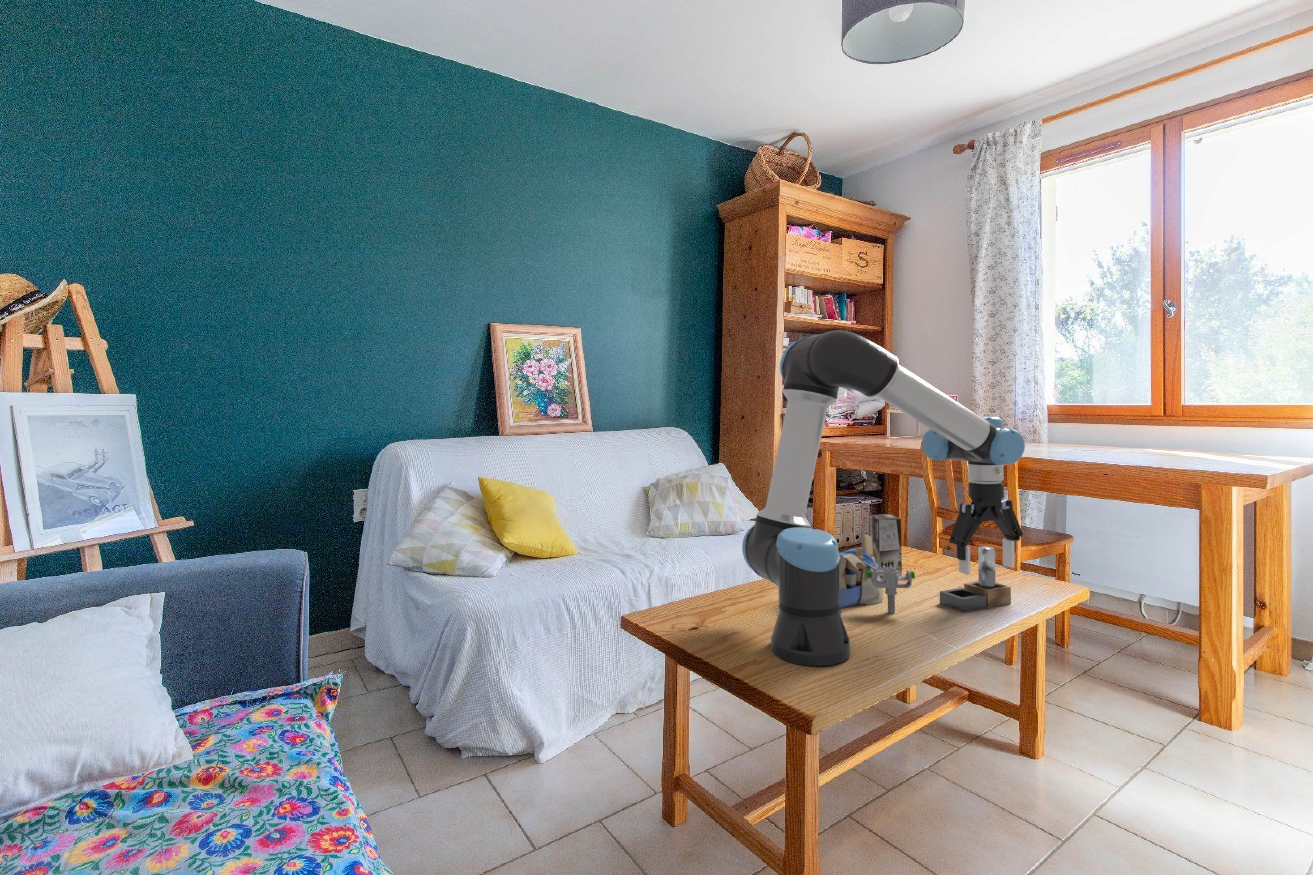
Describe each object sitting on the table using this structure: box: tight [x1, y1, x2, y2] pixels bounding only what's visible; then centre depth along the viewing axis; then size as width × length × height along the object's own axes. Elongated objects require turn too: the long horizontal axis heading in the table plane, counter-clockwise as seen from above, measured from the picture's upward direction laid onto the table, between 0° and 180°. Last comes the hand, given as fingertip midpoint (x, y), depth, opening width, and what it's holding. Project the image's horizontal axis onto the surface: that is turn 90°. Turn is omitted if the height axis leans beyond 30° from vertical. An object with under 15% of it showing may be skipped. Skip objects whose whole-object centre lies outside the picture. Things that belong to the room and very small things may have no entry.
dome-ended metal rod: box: [977, 546, 996, 589], centre depth 151 cm, size 4×4×13 cm
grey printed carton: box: [869, 513, 903, 577], centre depth 180 cm, size 9×6×16 cm
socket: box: [939, 587, 987, 613], centre depth 149 cm, size 7×7×3 cm
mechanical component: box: [867, 569, 916, 615], centre depth 146 cm, size 3×10×10 cm, turn 78°
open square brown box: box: [963, 580, 1012, 609], centre depth 151 cm, size 7×7×4 cm
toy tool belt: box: [839, 533, 884, 614], centre depth 154 cm, size 26×16×16 cm, turn 123°
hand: (986, 569), depth 151 cm, fingers open, 13 cm apart
